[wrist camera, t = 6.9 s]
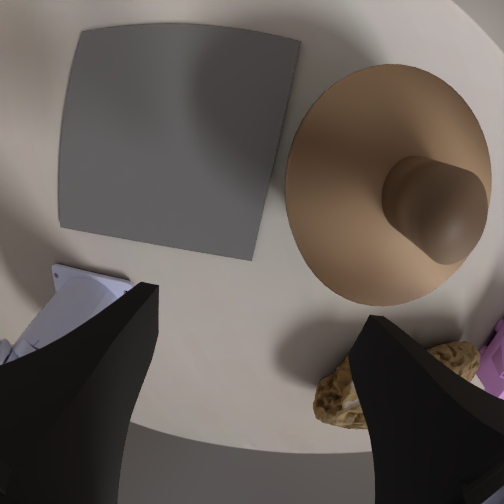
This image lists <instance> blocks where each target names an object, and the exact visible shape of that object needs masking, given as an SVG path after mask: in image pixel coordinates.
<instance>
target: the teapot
mask: <svg viewBox="0 0 504 504" xmlns="http://www.w3.org/2000/svg"><path fill="white" fill-rule="evenodd" d="M495 330H496V332H497V334H496V335H495V337H494V338H493V340H492V341H491V343H490V344H489V346H488V347H487V346H486V345H485V346H483V347H481V348H480V350H479V353H480V356H481V357H480V361H479V364H480V365H479V368H478V370H477V371H476V375H477V376H478V378H479V379H480V381H481V382H482V384H483V385H484V387H485V391H486V392H488V393H490V394H492V395H494V396H496V397H498V398H500V399H502V398H504V319H501V320H499V322H498V323H497V324H496V326H495Z"/></svg>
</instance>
